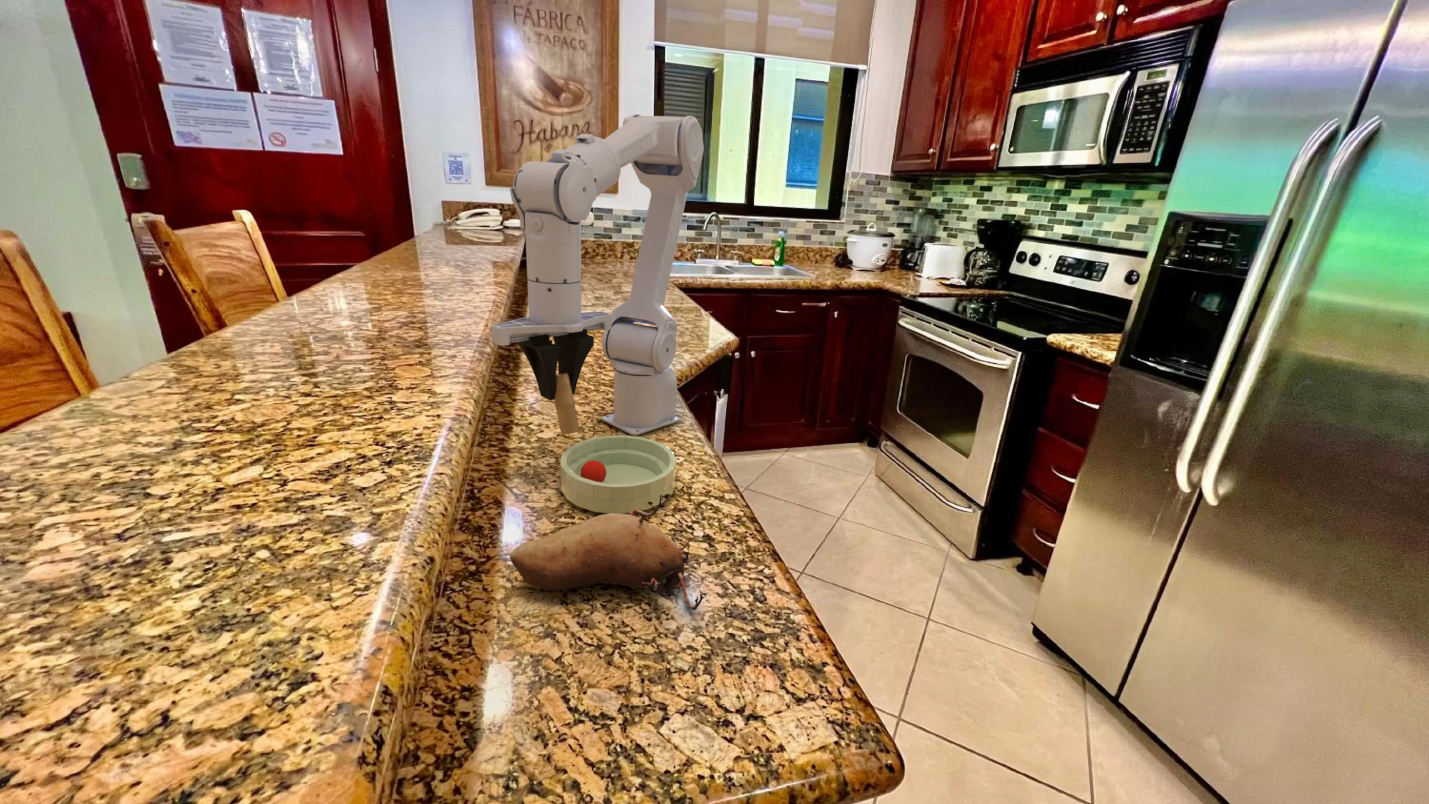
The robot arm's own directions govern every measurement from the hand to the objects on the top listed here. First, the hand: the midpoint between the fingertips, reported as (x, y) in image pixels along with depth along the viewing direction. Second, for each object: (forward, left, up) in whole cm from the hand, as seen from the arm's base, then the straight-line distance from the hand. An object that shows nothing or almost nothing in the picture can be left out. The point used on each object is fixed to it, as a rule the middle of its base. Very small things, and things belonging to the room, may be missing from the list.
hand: (557, 395), depth 65 cm
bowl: (-3, +8, -10) cm, 13 cm away
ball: (-1, +6, -8) cm, 10 cm away
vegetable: (+10, +22, -10) cm, 26 cm away
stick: (0, +2, -4) cm, 5 cm away
